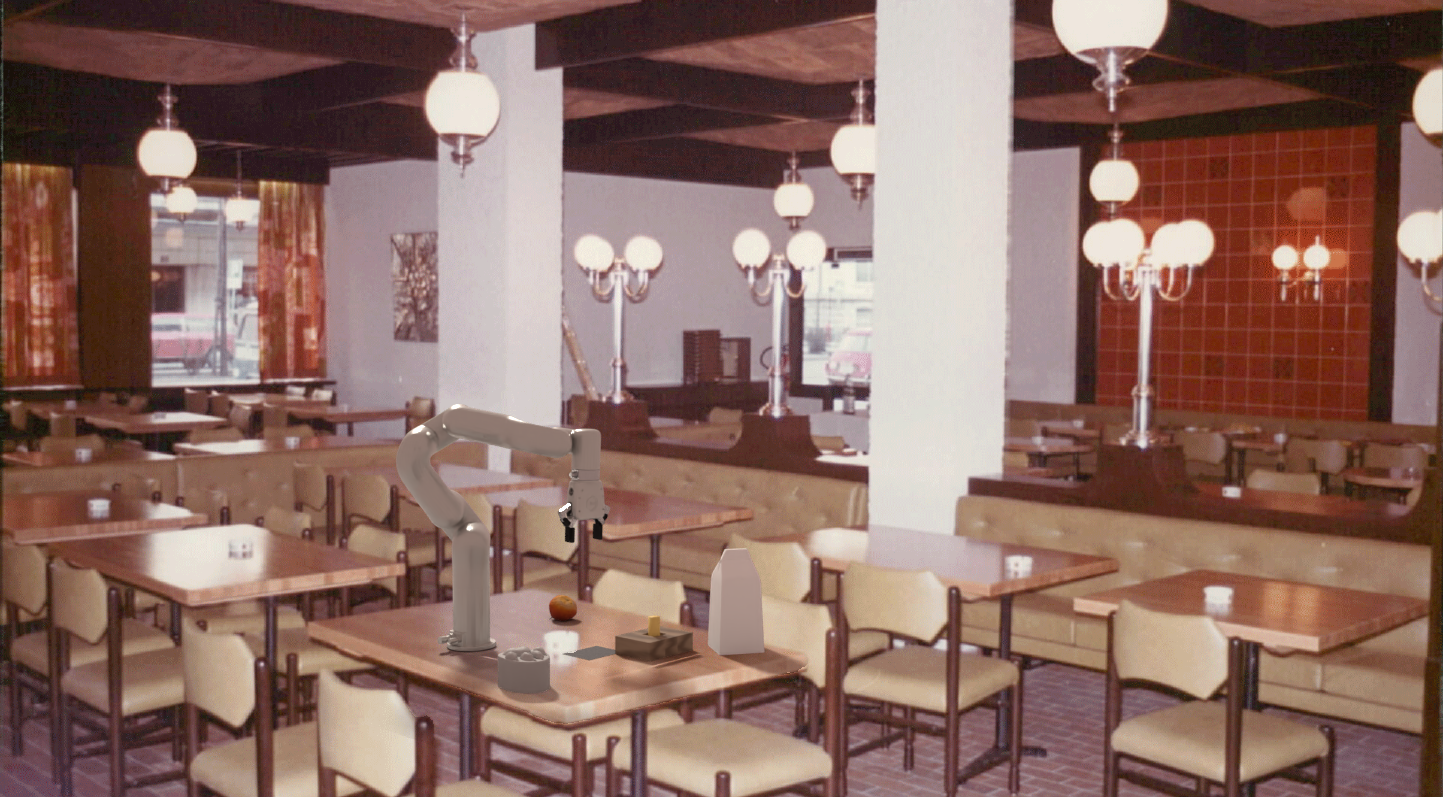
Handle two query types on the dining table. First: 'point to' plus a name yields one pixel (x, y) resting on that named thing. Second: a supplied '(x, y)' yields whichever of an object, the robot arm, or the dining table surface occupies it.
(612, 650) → the mat
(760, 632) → the milk
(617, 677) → the dining table surface
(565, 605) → the fruit
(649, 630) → the peg
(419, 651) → the dining table surface
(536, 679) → the lumpy-topped squat cylinder
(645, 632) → the hole block
